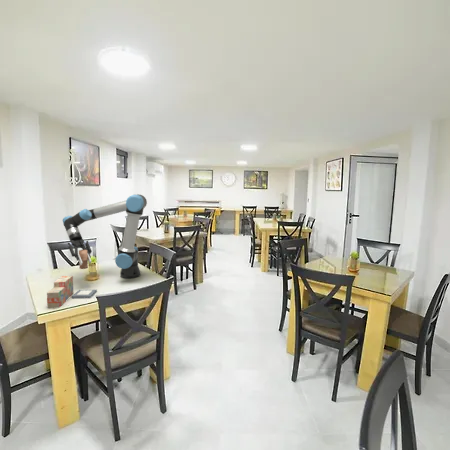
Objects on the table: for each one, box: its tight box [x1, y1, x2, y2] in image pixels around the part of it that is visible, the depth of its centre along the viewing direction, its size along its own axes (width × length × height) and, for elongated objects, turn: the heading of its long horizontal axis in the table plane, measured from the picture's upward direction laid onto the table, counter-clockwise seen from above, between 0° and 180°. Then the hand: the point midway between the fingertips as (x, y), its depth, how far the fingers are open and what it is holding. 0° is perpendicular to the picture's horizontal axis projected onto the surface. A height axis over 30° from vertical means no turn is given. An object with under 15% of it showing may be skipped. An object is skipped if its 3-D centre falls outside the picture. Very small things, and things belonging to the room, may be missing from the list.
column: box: [78, 249, 89, 270], centre depth 185 cm, size 5×5×12 cm
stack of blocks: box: [46, 275, 74, 309], centre depth 165 cm, size 21×6×12 cm, turn 9°
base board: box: [71, 289, 98, 300], centre depth 175 cm, size 11×11×2 cm
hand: (85, 263), depth 183 cm, fingers closed on column, 5 cm apart
